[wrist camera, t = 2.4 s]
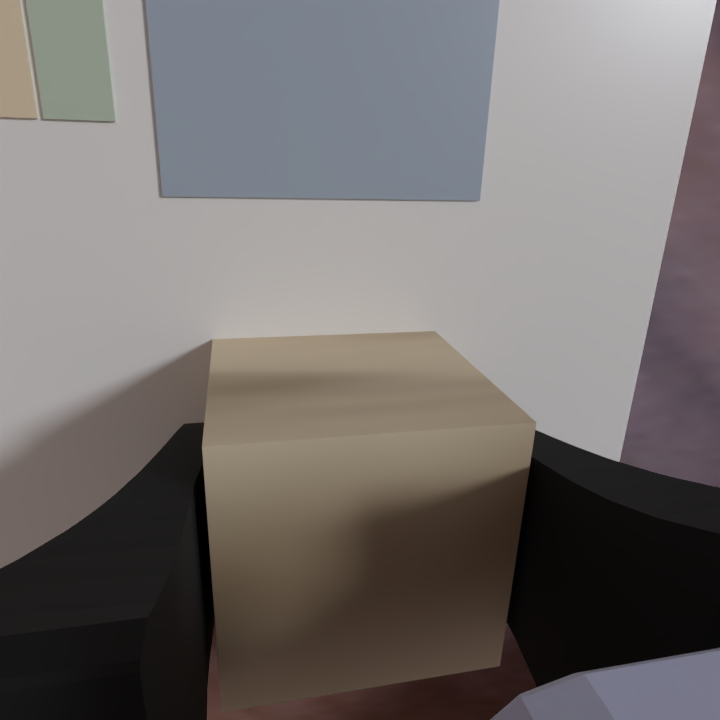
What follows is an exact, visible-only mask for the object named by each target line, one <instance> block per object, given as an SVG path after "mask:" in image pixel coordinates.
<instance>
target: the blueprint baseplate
mask: <svg viewBox="0 0 720 720" xmlns="http://www.w3.org/2000/svg"><path fill="white" fill-rule="evenodd" d="M716 1H717V0H0V568H2V567H4V566H6V565H8V564H10V563H12V562H14V561H16V560H17V559H19V558H21V557H23V556H24V555H26V554H28V553H29V552H31V551H33V550H34V549H36V548H38V547H39V546H41V545H43V544H44V543H46V542H48V541H49V540H51V539H53V538H54V537H56V536H58V535H59V534H61V533H63V532H64V531H66V530H68V529H69V528H71V527H72V526H74V525H75V524H76V523H78V522H79V521H81V520H82V519H83V518H85V517H86V516H88V515H89V514H90V513H92V512H93V511H95V510H96V509H97V508H98V507H100V506H101V505H102V504H104V503H105V502H106V501H107V500H109V499H110V498H111V497H112V496H114V495H115V494H116V493H117V492H118V491H119V490H120V489H121V488H122V487H123V486H125V485H126V484H127V483H128V482H129V481H130V480H131V479H132V478H133V477H134V476H136V475H137V474H138V473H139V472H140V471H141V470H142V469H143V468H144V467H145V465H146V464H147V463H148V462H149V461H150V460H151V459H152V458H153V457H154V456H155V455H156V454H157V453H158V452H159V451H160V450H161V448H162V447H163V446H164V445H165V444H166V443H167V442H168V440H169V439H170V438H171V437H172V436H173V435H174V434H175V432H176V431H177V430H178V429H179V428H180V427H181V426H182V425H183V424H186V423H202V422H204V421H205V411H206V401H207V391H208V381H209V371H210V361H211V351H212V340H213V339H229V338H257V337H285V336H313V335H340V334H368V333H396V332H424V331H436V332H437V333H438V334H439V335H440V336H441V337H442V338H443V339H444V340H446V341H447V342H448V343H449V344H450V345H451V346H452V347H453V348H454V349H456V350H457V351H458V352H459V353H460V354H461V355H462V356H463V357H464V358H466V359H467V360H468V361H469V362H470V363H471V364H472V365H473V366H474V367H476V368H477V369H478V370H479V371H480V372H481V373H482V374H483V375H484V376H486V377H487V378H488V379H489V380H490V381H491V382H492V383H493V384H494V385H496V386H497V387H498V388H499V389H500V390H501V391H502V392H503V393H504V394H506V395H507V396H508V397H509V398H510V399H511V400H512V401H513V402H514V403H516V404H517V405H518V406H519V407H520V408H521V409H522V410H523V411H524V412H526V413H527V414H528V415H529V416H530V417H531V418H532V419H533V420H534V421H536V429H535V430H537V431H540V432H542V433H544V434H547V435H549V436H551V437H554V438H556V439H558V440H561V441H563V442H566V443H568V444H571V445H573V446H576V447H578V448H581V449H584V450H586V451H589V452H592V453H594V454H597V455H600V456H602V457H605V458H608V459H611V460H614V461H617V462H619V461H620V456H621V451H622V447H623V442H624V437H625V432H626V428H627V423H628V418H629V413H630V409H631V404H632V399H633V395H634V390H635V385H636V380H637V376H638V371H639V366H640V361H641V357H642V352H643V347H644V342H645V338H646V333H647V328H648V323H649V319H650V314H651V309H652V305H653V300H654V295H655V290H656V286H657V281H658V276H659V271H660V267H661V262H662V257H663V252H664V248H665V243H666V238H667V233H668V229H669V224H670V219H671V214H672V210H673V205H674V200H675V196H676V191H677V186H678V181H679V177H680V172H681V167H682V162H683V158H684V153H685V148H686V143H687V139H688V134H689V129H690V124H691V120H692V115H693V110H694V106H695V101H696V96H697V91H698V87H699V82H700V77H701V72H702V68H703V63H704V58H705V53H706V49H707V44H708V39H709V34H710V30H711V25H712V20H713V16H714V11H715V6H716Z"/></svg>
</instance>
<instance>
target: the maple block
mask: <svg viewBox="0 0 720 720" xmlns="http://www.w3.org/2000/svg"><path fill="white" fill-rule="evenodd" d="M535 429H536V421H534V420H533V419H532V418H531V417H530V416H529V415H528V414H527V413H526V412H524V411H523V410H522V409H521V408H520V407H519V406H518V405H517V404H516V403H514V402H513V401H512V400H511V399H510V398H509V397H508V396H507V395H506V394H504V393H503V392H502V391H501V390H500V389H499V388H498V387H497V386H496V385H494V384H493V383H492V382H491V381H490V380H489V379H488V378H487V377H486V376H484V375H483V374H482V373H481V372H480V371H479V370H478V369H477V368H476V367H474V366H473V365H472V364H471V363H470V362H469V361H468V360H467V359H466V358H464V357H463V356H462V355H461V354H460V353H459V352H458V351H457V350H456V349H454V348H453V347H452V346H451V345H450V344H449V343H448V342H447V341H446V340H444V339H443V338H442V337H441V336H440V335H439V334H438V333H437V332H436V331H424V332H396V333H368V334H340V335H313V336H285V337H257V338H229V339H213V340H212V351H211V361H210V371H209V381H208V391H207V401H206V411H205V421H204V431H203V441H202V454H203V468H204V481H205V494H206V508H207V521H208V534H209V548H210V561H211V574H212V588H213V601H214V614H215V628H216V641H217V654H218V668H219V681H220V694H221V708H222V712H227V711H233V710H239V709H245V708H251V707H257V706H263V705H270V704H276V703H282V702H288V701H294V700H300V699H306V698H312V697H318V696H324V695H330V694H336V693H342V692H348V691H354V690H360V689H366V688H372V687H378V686H384V685H390V684H396V683H402V682H408V681H414V680H420V679H426V678H432V677H438V676H444V675H450V674H456V673H462V672H468V671H474V670H480V669H486V668H492V667H498V666H500V662H501V655H502V649H503V642H504V635H505V629H506V622H507V615H508V609H509V602H510V595H511V589H512V582H513V575H514V569H515V562H516V555H517V549H518V542H519V535H520V529H521V522H522V516H523V509H524V502H525V496H526V489H527V482H528V476H529V469H530V462H531V456H532V449H533V442H534V436H535Z"/></svg>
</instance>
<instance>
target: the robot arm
mask: <svg viewBox="0 0 720 720" xmlns="http://www.w3.org/2000/svg"><path fill="white" fill-rule="evenodd" d="M203 431H204V422H202V423H186V424H183V425H182V426H181V427H180V428H179V429H178V430H177V431H176V432H175V434H174V435H173V436H172V437H171V438H170V439H169V440H168V442H167V443H166V444H165V445H164V446H163V447H162V448H161V450H160V451H159V452H158V453H157V454H156V455H155V456H154V457H153V458H152V459H151V460H150V461H149V462H148V463H147V464H146V465H145V467H144V468H143V469H142V470H141V471H140V472H139V473H138V474H137V475H136V476H134V477H133V478H132V479H131V480H130V481H129V482H128V483H127V484H126V485H125V486H123V487H122V488H121V489H120V490H119V491H118V492H117V493H116V494H115V495H114V496H112V497H111V498H110V499H109V500H107V501H106V502H105V503H104V504H102V505H101V506H100V507H98V508H97V509H96V510H95V511H93V512H92V513H90V514H89V515H88V516H86V517H85V518H83V519H82V520H81V521H79V522H78V523H76V524H75V525H74V526H72V527H71V528H69V529H68V530H66V531H64V532H63V533H61V534H59V535H58V536H56V537H54V538H53V539H51V540H49V541H48V542H46V543H44V544H43V545H41V546H39V547H38V548H36V549H34V550H33V551H31V552H29V553H28V554H26V555H24V556H23V557H21V558H19V559H17V560H16V561H14V562H12V563H10V564H8V565H6V566H4V567H2V568H0V720H207V684H208V672H209V659H210V651H211V644H212V636H213V628H214V620H215V614H214V601H213V588H212V574H211V561H210V548H209V534H208V521H207V508H206V494H205V481H204V468H203V454H202V441H203ZM507 623H508V625H509V627H510V629H511V631H512V633H513V635H514V637H515V639H516V641H517V643H518V645H519V648H520V650H521V652H522V654H523V656H524V659H525V661H526V663H527V665H528V667H529V670H530V672H531V674H532V676H533V678H534V681H535V683H536V685H537V688H534V689H532V690H529V691H526V692H524V693H521V694H519V695H518V696H517V697H516V698H515V699H514V700H512V701H511V702H510V703H509V704H508V705H507V706H506V707H504V708H503V709H502V710H501V711H500V712H499V713H497V714H496V715H495V716H494V717H493V718H492V719H490V720H720V488H718V487H713V486H708V485H704V484H700V483H695V482H691V481H686V480H682V479H677V478H673V477H669V476H665V475H661V474H658V473H654V472H650V471H647V470H644V469H640V468H637V467H634V466H630V465H627V464H624V463H620V462H617V461H614V460H611V459H608V458H605V457H602V456H600V455H597V454H594V453H592V452H589V451H586V450H584V449H581V448H578V447H576V446H573V445H571V444H568V443H566V442H563V441H561V440H558V439H556V438H554V437H551V436H549V435H547V434H544V433H542V432H540V431H537V430H535V436H534V442H533V449H532V456H531V462H530V469H529V476H528V482H527V489H526V496H525V502H524V509H523V516H522V522H521V529H520V535H519V542H518V549H517V555H516V562H515V569H514V575H513V582H512V589H511V595H510V602H509V609H508V615H507Z"/></svg>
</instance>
